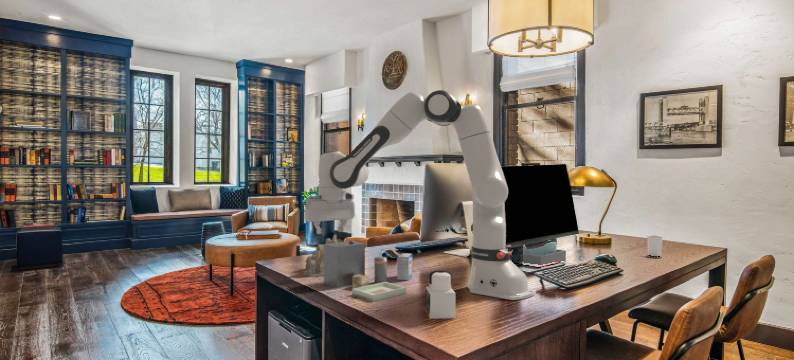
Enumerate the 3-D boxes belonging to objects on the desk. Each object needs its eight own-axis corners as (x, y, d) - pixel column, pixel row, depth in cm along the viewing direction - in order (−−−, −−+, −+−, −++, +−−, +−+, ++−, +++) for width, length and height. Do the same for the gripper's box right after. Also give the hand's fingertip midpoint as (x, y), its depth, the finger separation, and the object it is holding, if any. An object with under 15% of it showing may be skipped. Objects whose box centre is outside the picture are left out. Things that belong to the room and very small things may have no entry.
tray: (406, 293, 146) (406, 287, 146) (372, 301, 136) (372, 295, 136) (385, 287, 153) (385, 281, 153) (352, 294, 143) (352, 288, 143)
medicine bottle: (425, 311, 127) (425, 269, 127) (450, 310, 128) (450, 268, 128) (429, 319, 120) (429, 274, 120) (455, 318, 121) (455, 274, 121)
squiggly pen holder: (523, 265, 194) (523, 244, 194) (511, 261, 204) (512, 240, 204) (559, 263, 199) (559, 243, 199) (547, 259, 208) (547, 239, 208)
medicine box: (408, 280, 163) (408, 257, 163) (396, 280, 164) (396, 256, 164) (412, 276, 171) (412, 253, 171) (400, 275, 172) (401, 252, 172)
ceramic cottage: (331, 265, 189) (329, 230, 188) (347, 274, 175) (346, 236, 174) (295, 271, 181) (293, 235, 179) (309, 281, 167) (308, 242, 165)
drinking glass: (663, 257, 213) (664, 237, 213) (647, 256, 216) (648, 236, 216) (661, 255, 220) (661, 235, 219) (645, 254, 222) (646, 234, 222)
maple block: (368, 287, 154) (368, 275, 154) (361, 289, 151) (361, 277, 150) (359, 285, 156) (359, 274, 156) (352, 288, 153) (352, 276, 153)
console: (364, 282, 160) (365, 241, 159) (337, 288, 151) (337, 245, 151) (350, 278, 166) (350, 239, 166) (323, 283, 158) (323, 242, 157)
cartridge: (389, 283, 159) (389, 258, 159) (379, 285, 156) (380, 259, 156) (381, 280, 163) (381, 256, 162) (371, 282, 160) (371, 257, 159)
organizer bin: (565, 261, 202) (565, 250, 202) (540, 268, 187) (540, 256, 187) (537, 257, 212) (537, 246, 212) (511, 263, 197) (511, 251, 197)
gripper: (310, 196, 155) (310, 236, 155) (357, 194, 169) (357, 231, 169) (301, 195, 160) (301, 234, 160) (347, 194, 174) (347, 229, 174)
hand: (330, 232), depth 165 cm, fingers open, 8 cm apart
